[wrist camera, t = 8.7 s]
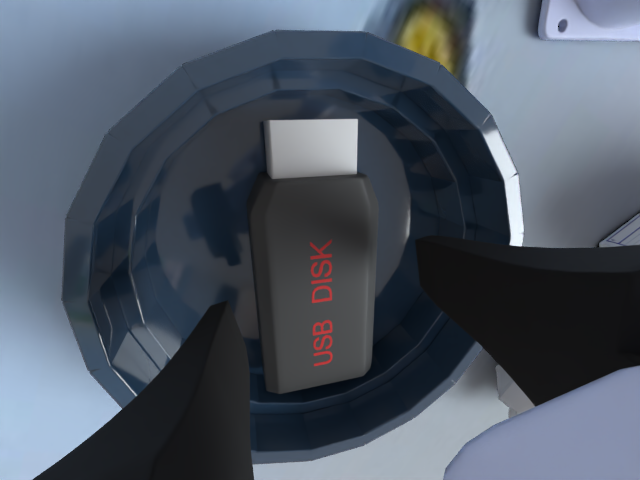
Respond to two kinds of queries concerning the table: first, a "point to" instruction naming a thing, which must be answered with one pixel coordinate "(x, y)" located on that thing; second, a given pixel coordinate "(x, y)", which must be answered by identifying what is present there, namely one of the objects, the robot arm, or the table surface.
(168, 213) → the bowl
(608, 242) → the medicine box
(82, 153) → the table surface
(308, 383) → the usb drive
